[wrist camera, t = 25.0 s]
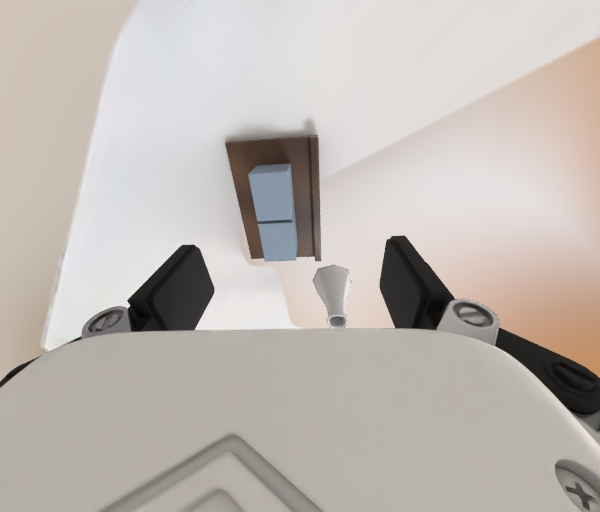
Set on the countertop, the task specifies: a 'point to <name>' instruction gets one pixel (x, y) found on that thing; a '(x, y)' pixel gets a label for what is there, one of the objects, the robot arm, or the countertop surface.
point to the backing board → (303, 180)
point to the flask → (333, 293)
